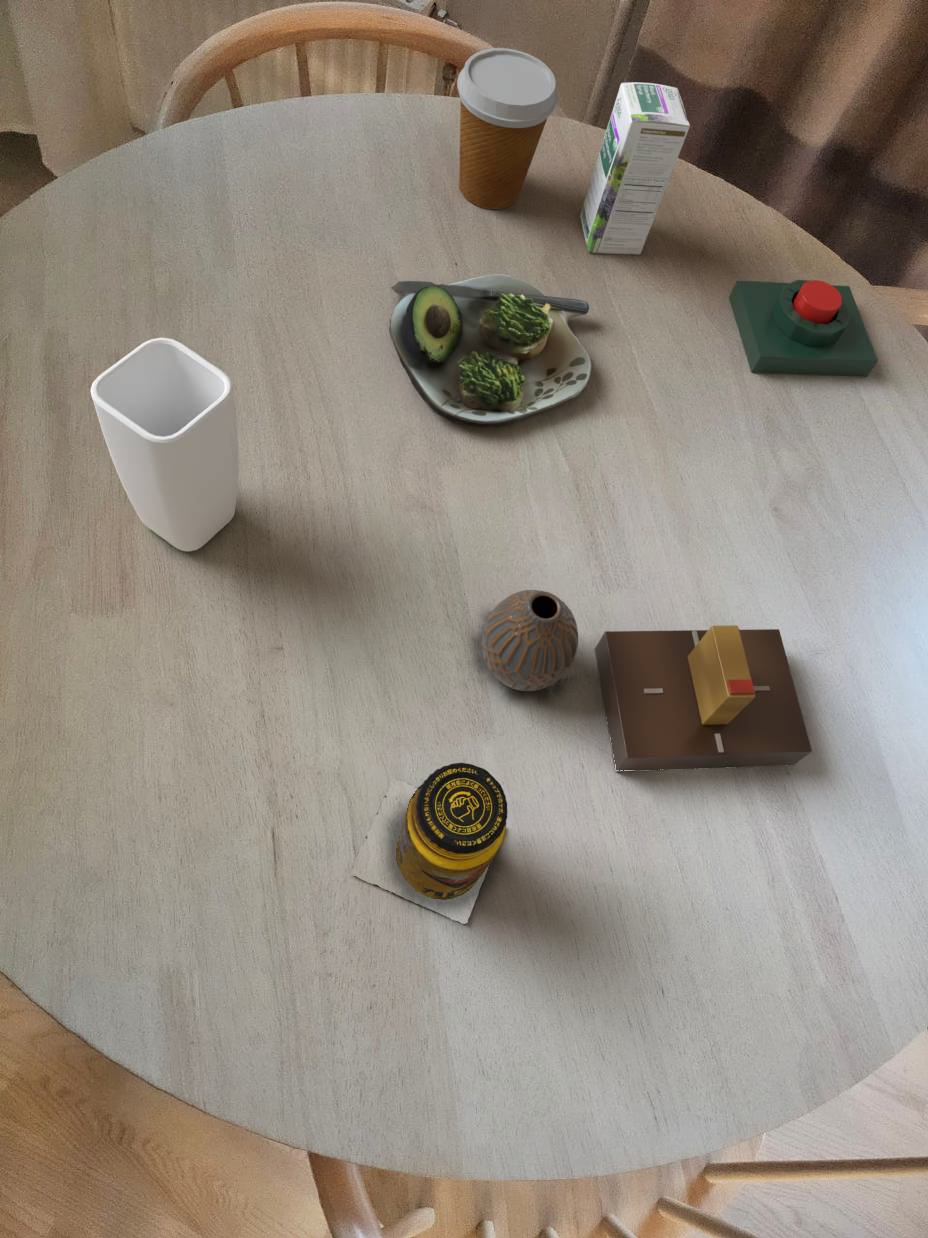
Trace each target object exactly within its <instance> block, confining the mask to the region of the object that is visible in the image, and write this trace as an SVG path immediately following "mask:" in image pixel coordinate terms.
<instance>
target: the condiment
mask: <svg viewBox="0 0 928 1238" xmlns="http://www.w3.org/2000/svg"><path fill="white" fill-rule="evenodd" d="M417 788H418V789H417V790H416V791H415V793H414V794H413V796H412V797H411V799H410V801H409V804H408V808H407V812H406V814H405V818H404V822H403V825H402V828H401V831H400V836H399V840H398V842H397V848H396V861H397V865H398V867H399V869H400V871H401V873H402V875H403V877H404V879H405V880H406V881H407V882H408V883H409V884H410V885H411V886H412V887H413V888H414V889H415V891H417V892H420V893H421V894H423V895H425V896H427V897H430V898H433V899H441V900H447V899H453V898H455V897H458V896H461V895H463V894H464V893H466V892H467V891H469V890H470V889H471V888H472V887H473V886H474V885H475V884H476V883H477V881H478V880H479V878H480V877H481V876H482V874H483V873H484V872H485V870H486V868H487V867H488V865H489V864H490V862H491V863H492V861H493V859H492V858H494V857H496V855H497V853H498V851H499V849H500V847H501V845H502V843H503V842H504V839H505V835H506V830H507V820H508V812H509V811H508V801H507V798H506V794H505V792H504V789H503V787H502V785H501V784H500V782H499V781H498V780H497V779H496V778H495V777H494V776H493V775H492V774H491V773H490V772H489V771H488V770H487V769H485V768H483V767H480V766H478V765H476V764H475V765H474V764H472V763H468V762H467V763H466V762H454V763H450V764H448V765H443V766H442V767H440V768H437V769H435V770H433V772H432V773H430V774H429V775H428V776H427V778H426V779H425V780H423V782H422V783H421V784H420V785H419V786H418V787H417ZM491 860H492V861H491ZM490 865H491V864H490Z"/></svg>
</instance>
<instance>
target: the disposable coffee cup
mask: <svg viewBox="0 0 928 1238" xmlns="http://www.w3.org/2000/svg"><path fill="white" fill-rule="evenodd" d="M556 84H557V83H556V78H555V75H554V73H553V71H552V70H551V69H550V68H549V66H547V65H546V63H545V62H543V61H541V60H540V59H539V58H537V57H535V56H533V55H531V54H530V53H527V52H523V51H521V50H518V49H513V48H507V47H492V48H491V47H490V48H486V49H482V50H480V51H477V52H475V53H474V54H472V55H470V57H469V58H468V59H467V60H466V61H465V64H464V67H462V69H461V70H460V72H459V74H458V76H457V80H456V85H457V86H456V89H457V91H458V95H459V98H460V103H459V104H460V109H459V111H460V112H459V113H460V114H459V117H460V120H459V125H460V126H459V177H458V187H459V191H460V193H461V194H462V196H463V197H464V198H465V199H466V200H467V201H468V202H470V203H471V204H472V205H475V206H477V207H481V208H482V209H483V208H484V209H487V210H488V209H489V210H502V209H507V208H509V207H511V206H512V205H514V204H515V203H516V202H517V201H518V199H519V198H520V194H521V192H522V189H523V187H524V183H525V180H526V177H527V174H528V172H529V170H530V166H531V164H532V161H533V158H534V156H535V153H536V151H537V148H538V145H539V142H540V139H541V137H542V134H543V131H544V129H545V126H546V124H547V121H548V118H549V117H550V116H551V114H552V113H553V112H554V111H555V108H556V106H557V104H558V98H559V96H558V90H557V85H556Z"/></svg>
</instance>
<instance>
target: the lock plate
mask: <svg viewBox="0 0 928 1238" xmlns="http://www.w3.org/2000/svg"><path fill="white" fill-rule="evenodd" d="M708 630H709V629H691V630H690V629H689V630H688V629H687V630H683V629H681V630H627V631H626V630H620V631H619V630H618V631H617V630H614V631H613V630H612V631H611V630H610V631H609V630H608V631H604V632H603V634H602V636H601V638H600V640H598V642H597V645H596V646H595V648H594V653H595V659H596V666H597V672H598V677H599V678H598V679H599V683H601V684H600V689H602V690H601V695H602V701H604V702H603V707H604V712H606V713H605V718H606V717H607V719H606V723H607V722H608V725H607V729H608V728H609V731H608V735H609V734H610V737H611V743H612V749H613V754H614V760H615V764H616V770H619V771H620V770H623V771H624V770H656V771H666V770H665V769H683V770H704V769H703V768H709V769H727V768H726V767H736V768H758V767H759V766H762V767H785V765H788V766H795V765H797V764H798V763H799V762H801V761H802V760H803V759H804V758H806V757H807V756H808V755H809V754H811V753H812V752H813V749H812V745H811V741H810V738H809V735H808V731H807V727H806V723H805V719H804V716H803V713H802V708H801V705H800V701H799V697H798V694H797V690H796V686H795V683H794V678H793V675H792V672H791V671H792V670H791V669H790V665H789V661H788V657H787V653H786V649H785V646H784V642H783V638H782V635H781V631H780V629H779V628H774V629H773V628H769V629H767V628H766V629H764V628H763V629H761V628H760V629H739V632H740V636H741V640H742V644H743V648H744V652H745V656H746V660H747V664H748V668H749V672H750V676H751V680H752V684H753V688H754V692H755V698H754V699H753V700H752V701H751V702H750V703H749V704H748V705H747V706H746V707H745V708H744V709H743V710H742V711H741V712H740V713H739V714H738V715H737V716H736V717H735V718H734V719H732V720H731V721H730V722H729V723H728V724H715V725H702V721H701V717H700V712H699V707H698V703H697V698H696V694H695V689H694V685H693V680H692V675H691V671H690V666H689V662H688V655H689V654H690V653H691V652H692V650H693V649H694V648H695V646H696V645H697V644H698V643H699V641H700V640H701V639H702V638H703V636H704V635H705V634H706V632H707V631H708ZM610 737H609V738H610ZM611 743H610V744H611ZM612 749H611V750H612ZM782 765H783V766H782ZM755 766H756V767H755ZM757 766H758V767H757ZM695 768H696V769H695ZM698 768H699V769H698ZM700 768H702V769H700ZM660 769H661V770H660ZM662 769H664V770H662Z"/></svg>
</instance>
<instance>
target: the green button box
mask: <svg viewBox="0 0 928 1238" xmlns="http://www.w3.org/2000/svg"><path fill="white" fill-rule="evenodd" d="M808 281H811V279H810V280H809V279H796V280H794V281H791V282H776V281H775V282H774V281H758V280H757V281H755V280H736V282H735V284H734V285H733V288H732V290H731V292H730V294H729V296H728V299H729V303H730V306H731V309H732V313H733V317H734V320H735V322H736V326H737V330H738V333H739V337H740V339H741V344H742V346H743V349H744V352H745V353H744V354H745V355H746V359H747V363H748V366H749V369H750V370H749V371H750V373H751V374H773V375H774V374H775V375H800V376H805V375H806V376H828V377H830V376H832V377H857V378H859V377H861V378H867V377H868V376H869V374H870V373H871V372H872V371H873V369H874V368H875V366H876V365H877V364H878V362H879V359H878V357H877V355H876V351H875V349H874V347H873V345H872V341H871V339H870V336H869V334H868V331H867V328H866V326H865V323H864V321H863V318H862V316H861V313H860V311H859V308H858V305H857V301H856V299H855V298H854V295H853V292H852V289H851V287H850V286H849V285H833V284H831V285H832V286H833V287H834V288H836V289H837V290H838V292H839V293H840V295H841V297H842V304H841V306H840V308H839V309H838V311H837V312H836V314H835V315H834V317H833V319H832V320H831V321H830V322H828V323H826V324H817V323H813V322H811V321H809V320H806V319H804V318H803V317H802V316H801V315H800V314H798V313H797V312H796V311H795V309H794V305H793V304H794V300H795V298H796V296H797V294H798V293H799V291H800V289H801V287H802V286H803V284H805V283H806V282H808Z"/></svg>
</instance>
